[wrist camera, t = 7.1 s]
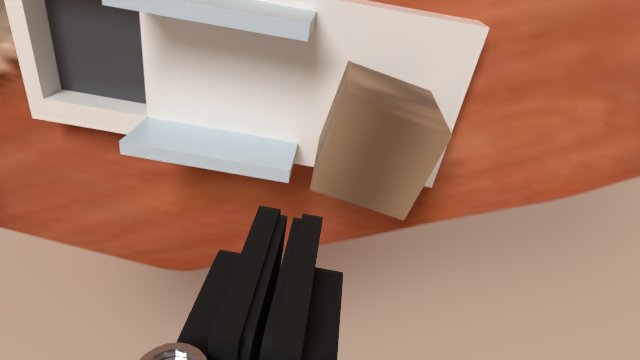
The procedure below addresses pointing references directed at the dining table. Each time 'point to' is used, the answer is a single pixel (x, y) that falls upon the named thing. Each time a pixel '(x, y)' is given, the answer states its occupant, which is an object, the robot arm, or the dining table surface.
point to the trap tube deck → (228, 71)
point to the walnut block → (379, 142)
